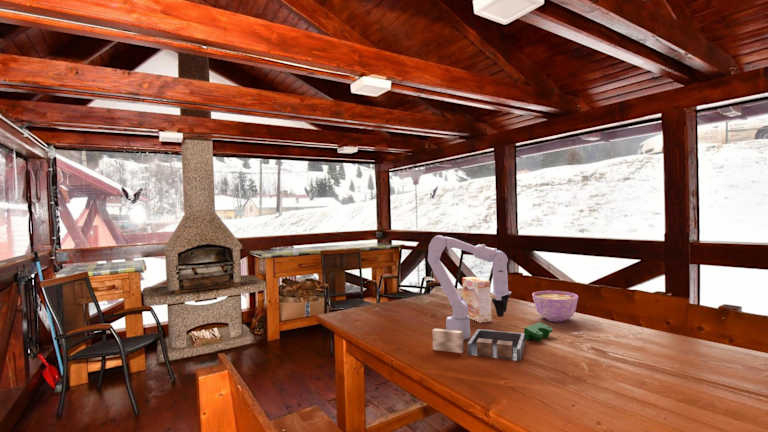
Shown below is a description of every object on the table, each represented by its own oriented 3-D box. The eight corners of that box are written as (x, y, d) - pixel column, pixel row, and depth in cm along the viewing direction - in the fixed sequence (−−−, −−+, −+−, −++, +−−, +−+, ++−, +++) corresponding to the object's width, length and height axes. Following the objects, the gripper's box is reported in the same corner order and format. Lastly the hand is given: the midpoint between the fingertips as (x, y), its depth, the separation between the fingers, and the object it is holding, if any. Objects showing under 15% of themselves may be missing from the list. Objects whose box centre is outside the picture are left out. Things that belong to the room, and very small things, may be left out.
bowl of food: (523, 317, 182) (522, 293, 182) (553, 311, 190) (552, 289, 190) (558, 328, 163) (557, 301, 163) (589, 320, 172) (588, 295, 172)
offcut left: (477, 354, 135) (476, 341, 135) (479, 350, 138) (478, 338, 138) (491, 355, 133) (490, 343, 133) (493, 351, 136) (492, 339, 136)
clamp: (536, 354, 146) (535, 337, 142) (523, 347, 150) (522, 330, 147) (554, 337, 151) (553, 320, 148) (540, 330, 156) (539, 313, 152)
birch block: (433, 351, 141) (432, 330, 141) (435, 349, 143) (434, 328, 143) (461, 354, 136) (461, 333, 136) (463, 352, 139) (462, 331, 139)
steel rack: (467, 357, 135) (467, 343, 135) (478, 341, 151) (477, 329, 151) (520, 363, 127) (520, 349, 127) (525, 346, 143) (524, 333, 143)
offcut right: (497, 356, 132) (496, 343, 132) (498, 352, 135) (498, 340, 135) (511, 358, 130) (511, 345, 130) (513, 354, 133) (512, 341, 133)
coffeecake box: (463, 315, 190) (461, 277, 190) (475, 314, 192) (473, 276, 192) (479, 323, 175) (477, 281, 175) (492, 321, 178) (490, 280, 178)
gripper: (508, 284, 143) (509, 319, 143) (512, 278, 156) (514, 310, 156) (489, 283, 146) (491, 318, 146) (495, 277, 159) (496, 309, 159)
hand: (501, 314), depth 152 cm, fingers open, 7 cm apart
